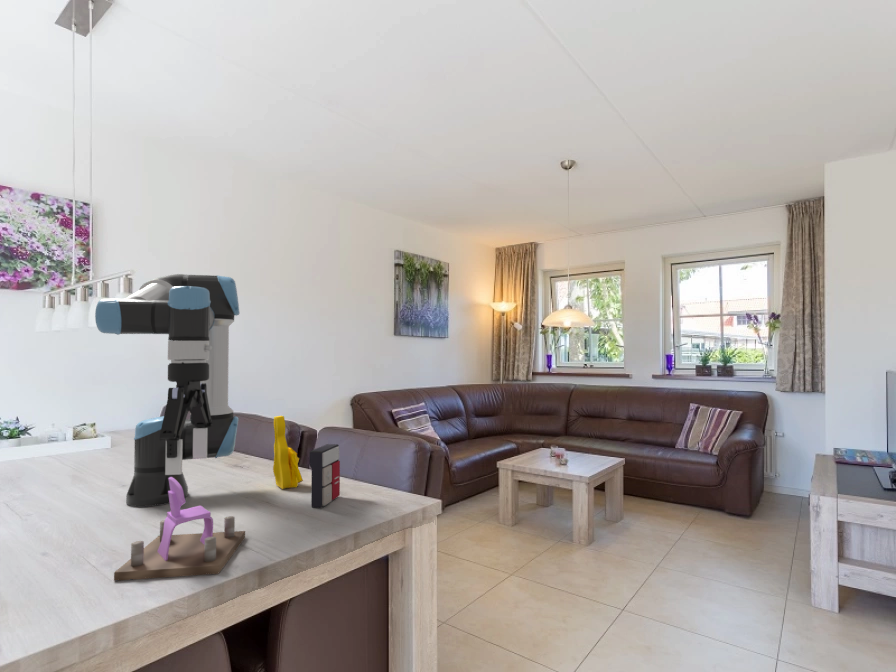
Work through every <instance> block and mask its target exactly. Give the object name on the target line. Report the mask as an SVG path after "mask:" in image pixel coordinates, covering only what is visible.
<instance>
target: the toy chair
mask: <svg viewBox="0 0 896 672" xmlns="http://www.w3.org/2000/svg"><path fill="white" fill-rule="evenodd" d="M168 479H169V485H170V491H168V494H169V502H170V503H169V507H170V511H167V512H166V517H165V519H164V520H165V521H164V530H163V537H162V540H161V543H160V546H159V549H158V553H159V554H160V555H161V556H162V558H163V559H164V560H165V561H167V560H168V552H169V546H170V541H171V537H172V535H174V534H173V533H174V530H175V529H176V528H177V526H179V525H181V524H184V523H188V522H192V521H197V520H202V519H203V523H204V524H203V525H204V527H203V532H202V533H203V534H202V537H201V539H200V541H201V542H202V543H203V544H204V545H205V538H208V537H212V536H213V533H214V518H213V517H212V516H211V514H212V513H211V511H209V510H207V509H206V508H205V507H203V506H202V505H197V506H191V507H189V508H184V509H181V507H182V506H183V505H184V504H185V503H186V502H187V501H186V497H185V498H184V493H183V489H182V487H181V485H180V484H179V483H178V481H177V480H175V479H174V478H173V477H169V478H168Z"/></svg>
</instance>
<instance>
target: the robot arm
mask: <svg viewBox="0 0 896 672" xmlns="http://www.w3.org/2000/svg"><path fill="white" fill-rule="evenodd" d="M239 306H240V305H239V297H238V290H237V284H236V281H235V280H234V278H233V277H230V276H222V275H209V274H207V275H206V274H204V275H203V274H183V273H180V274H179V273H177V274H168V275H164V276H160V277H155V278H153V279H150V280H148V281H146V282H145V283H143V284H142V285H141V286H140V288H139V289H138V290H137V291H136V292H134V293H132V294H129V296H127V297H125V298H116V297H113V298H102V299H100V300H99V301H98V302H97V304H96V306H95V307H96V308H95V314H94V315H95V316H94V318H95V324H96V328H97V329H98V331H99V332H100V333H101V334H102V333H103V334H108V335H109V334H110V335H111V334H114V335H118V336H119V335H168V339H167V340H168V341H167V360H168V361H170V363H169V364H167V381H169V382H171V383H176V385H175V387H168V389H167V401H166V404H165V409H164V415H163V416H158V417H157V416H156V417H152V418H147V419H144V420H141V421H139V422H138V423H136V425H135V430H134V431H135V432H134V437H133V440H134V455H133V456H134V459H133V460H134V463H133V465H134V466H133V469H134V470H133V472H134V473H133V477H132V479H131V482H130V484H129V487H128V490H127V493H126V495H125V497H126V499H125V502H126V505H127V506H131V507H153V506H154V507H155V506H160V505H166V504H167V505H168V504H170V502H169V494H168V491H170V485H169V479H168V478H169V477H173V478H174V479H175V480H177V481H178V483H179V484H180V485H181V487H182V489H183V493H184V498H185V499H186V498H187V497H188V494H189V486H188V483H187V481H186V478H185V475H184V472H183V461H186V460H187V461H188V460H196V459H197V460H199V459H200V460H201V459H210V458H211V459H212V458H213V459H218V458H223V457H224V458H225V457H229V456H231V455H232V454H233V453H234V452H235V451H234V450H235V445H236V438H237V433H238V426H239V417H238V416H236V415H235V416H234V410H233V409H232V408H231V407H230V406H229V350H230V349H229V344H230V343H229V342H230V341H229V340H230V339H229V337H230V336H229V335H230V332H229V331H230V325H232V324H233V323H234V322H235V317H237V316H240V307H239ZM188 414H189V417H190V418H189V419H188V418H187V417H188Z"/></svg>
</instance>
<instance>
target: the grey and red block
mask: <svg viewBox="0 0 896 672" xmlns="http://www.w3.org/2000/svg"><path fill="white" fill-rule="evenodd" d="M339 459H340V446H339V444H335V443H334V444H333V443H332V444H331V443H328V444H324V445H322V446H319V447H317V448H314V449H312V450H309V467H310V469H311V502H310V503H311V508H316V509H317V508H318V509H322V508H324V507H326V506H327V505H328V504H330V503H331V502H333V501H334V500H335V498H336V499H337V498H338V497H339V496H340V495H341V491H340V490H341V487H340V486H341V483H340V482H341V470H340V469H341V467H340V466H341V463H340V462H341V461H340V460H339Z"/></svg>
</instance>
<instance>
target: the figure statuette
mask: <svg viewBox="0 0 896 672" xmlns="http://www.w3.org/2000/svg"><path fill="white" fill-rule="evenodd" d="M285 420H286V419H285V416H284V415H277V416H274V417H273V431H274V432H273V434H274V443H273V453H274V454H273V455H274V457H273V466H272V470H273V475H274V479H275V485H276V486H277V487H278V488H280V489H282V490H284V489H288V488H290V489H291V488H298V487H297V486H299V484H300V483H302V482H304V480H303V477H302V474H301V471H300V469H299V465H298V463H299V460H300V457H298V453H297V452H296V451H295V450H294V449H293V448H292V447H289V446H288V442H287V439H286V428H287V427H286V421H285Z"/></svg>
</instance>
